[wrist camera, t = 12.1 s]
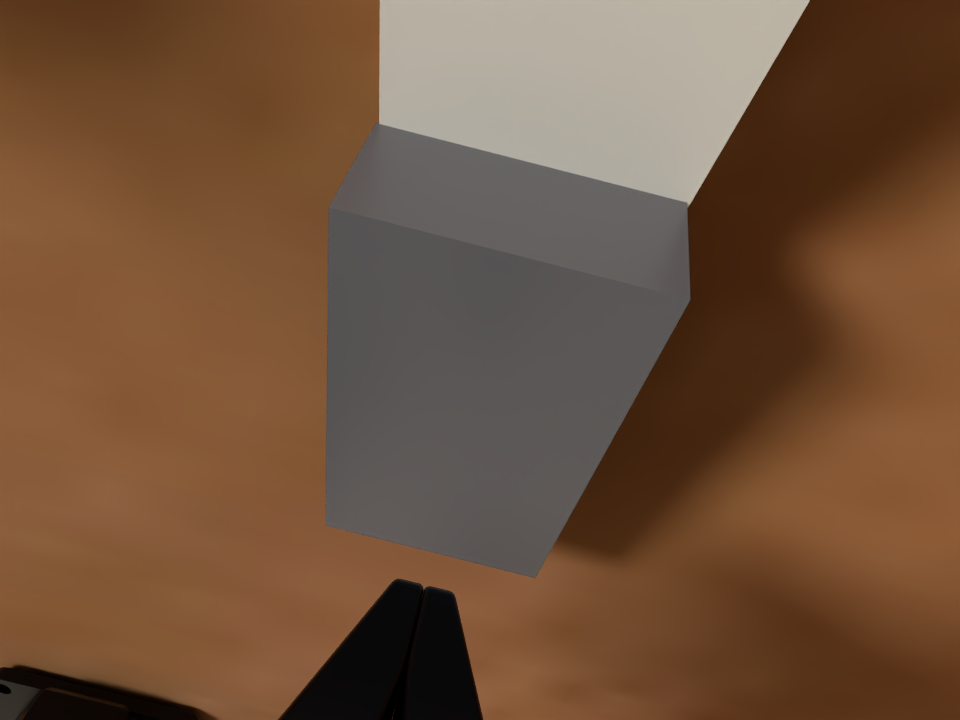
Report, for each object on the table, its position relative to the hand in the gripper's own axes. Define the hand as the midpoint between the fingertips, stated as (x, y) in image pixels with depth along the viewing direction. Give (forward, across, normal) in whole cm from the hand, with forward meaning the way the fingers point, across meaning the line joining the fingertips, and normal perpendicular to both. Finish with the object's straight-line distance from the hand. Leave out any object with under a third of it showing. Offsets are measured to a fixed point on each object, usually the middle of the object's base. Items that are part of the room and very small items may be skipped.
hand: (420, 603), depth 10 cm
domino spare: (+5, 0, +3) cm, 5 cm away
